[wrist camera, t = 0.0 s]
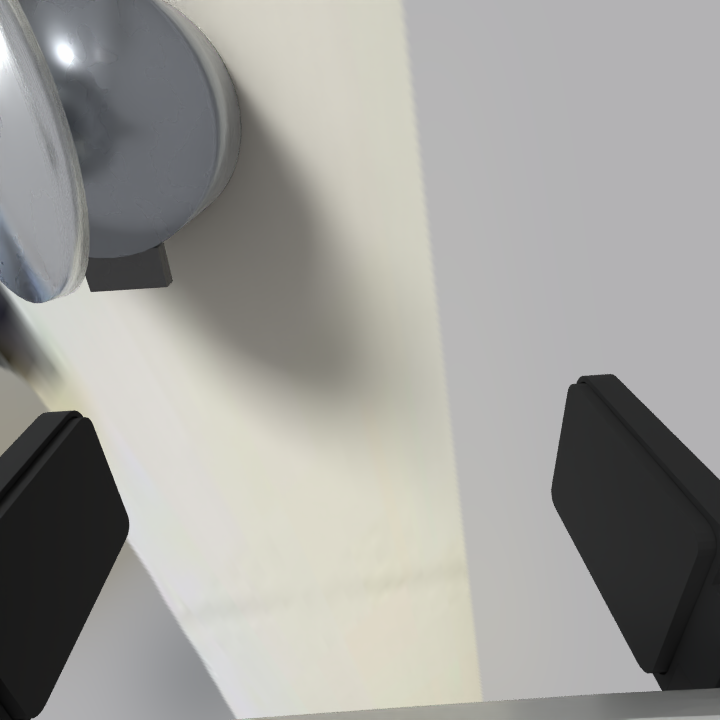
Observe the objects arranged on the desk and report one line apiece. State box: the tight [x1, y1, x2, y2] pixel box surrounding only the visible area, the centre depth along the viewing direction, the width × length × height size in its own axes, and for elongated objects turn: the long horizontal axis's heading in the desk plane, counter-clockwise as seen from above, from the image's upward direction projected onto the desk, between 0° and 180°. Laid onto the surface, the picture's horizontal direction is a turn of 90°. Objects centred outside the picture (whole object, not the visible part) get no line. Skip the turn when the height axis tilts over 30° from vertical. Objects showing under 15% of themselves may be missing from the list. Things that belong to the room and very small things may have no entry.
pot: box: [18, 0, 241, 292], centre depth 30 cm, size 20×16×9 cm
